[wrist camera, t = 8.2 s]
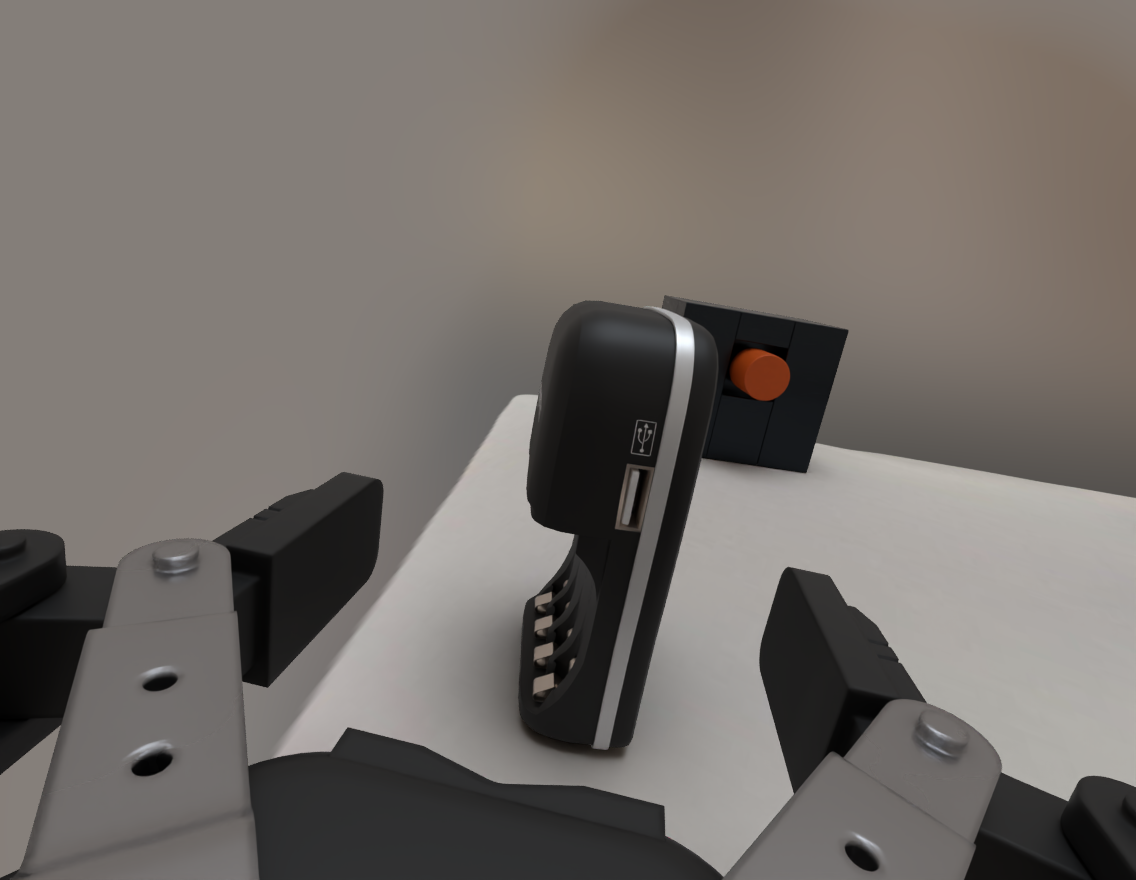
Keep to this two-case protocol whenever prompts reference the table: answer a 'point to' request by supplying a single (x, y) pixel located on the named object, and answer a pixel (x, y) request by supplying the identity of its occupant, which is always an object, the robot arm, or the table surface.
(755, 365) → the knob
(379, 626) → the table surface
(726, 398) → the control box
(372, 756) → the robot arm
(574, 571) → the battery charger
